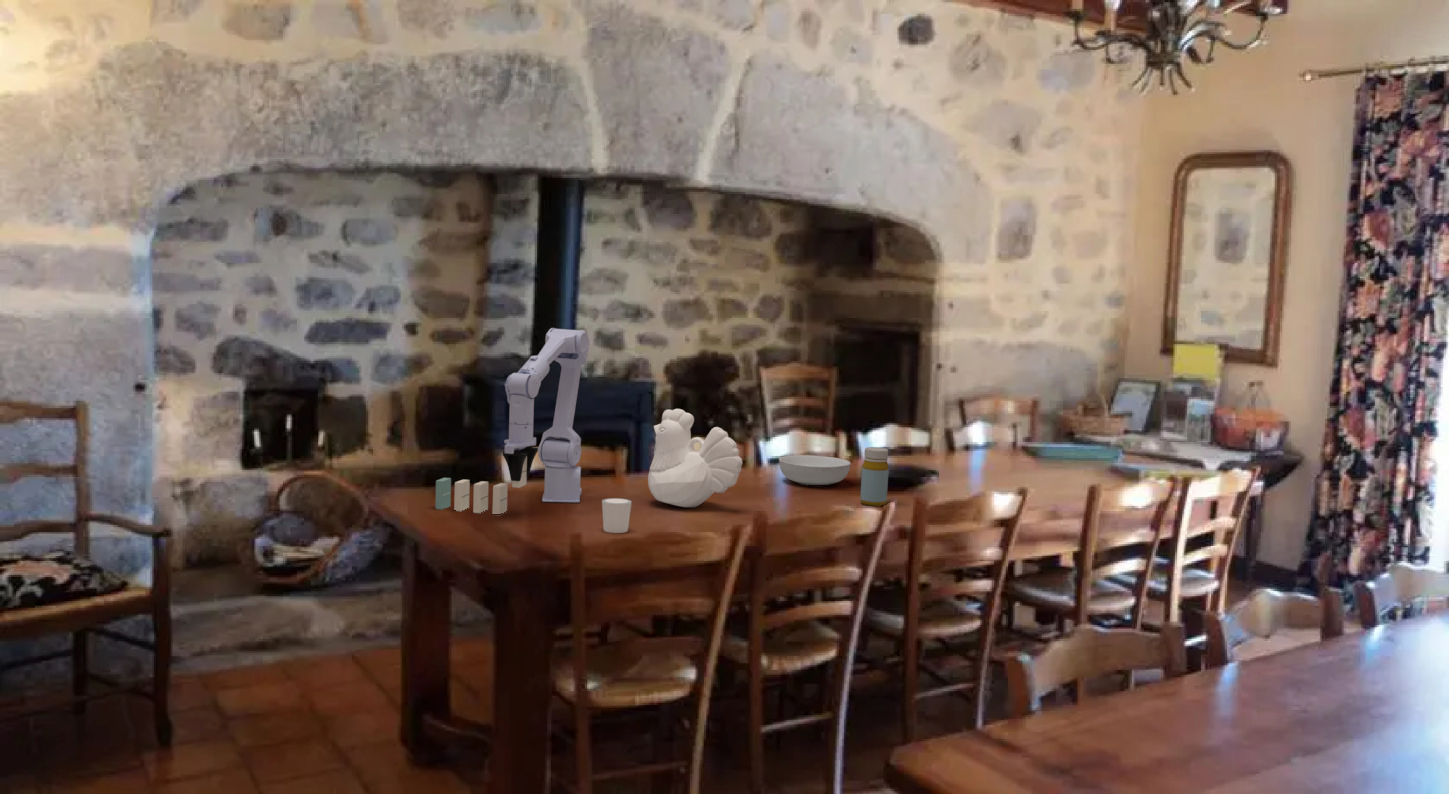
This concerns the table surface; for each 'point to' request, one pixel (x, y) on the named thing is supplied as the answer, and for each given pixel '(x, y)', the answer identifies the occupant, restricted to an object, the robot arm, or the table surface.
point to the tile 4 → (500, 498)
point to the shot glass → (616, 514)
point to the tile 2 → (461, 495)
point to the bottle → (874, 477)
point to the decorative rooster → (690, 462)
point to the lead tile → (523, 477)
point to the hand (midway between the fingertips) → (519, 479)
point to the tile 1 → (443, 493)
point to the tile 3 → (480, 497)
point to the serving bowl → (814, 469)
